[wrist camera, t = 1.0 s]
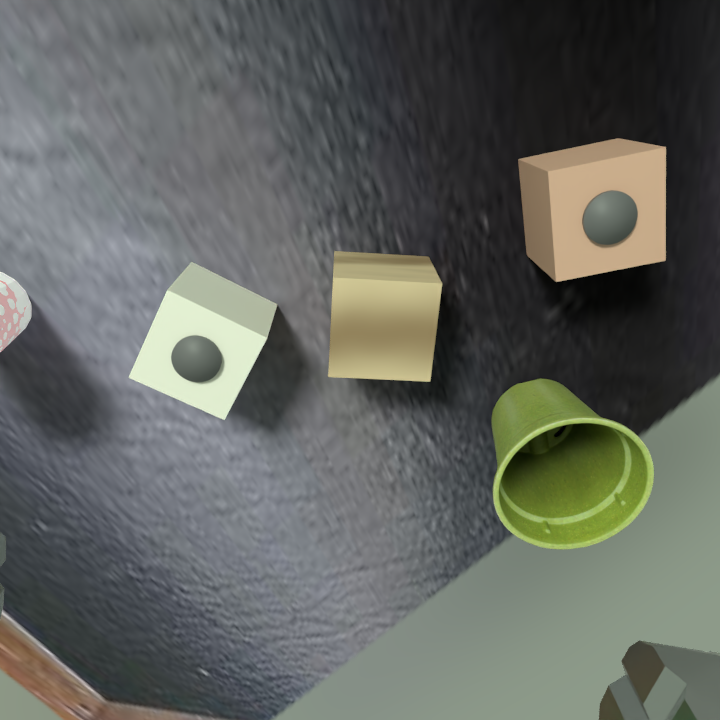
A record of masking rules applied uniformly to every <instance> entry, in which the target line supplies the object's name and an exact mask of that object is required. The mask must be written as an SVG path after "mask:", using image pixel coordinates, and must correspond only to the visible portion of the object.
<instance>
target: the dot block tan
mask: <svg viewBox="0 0 720 720" xmlns="http://www.w3.org/2000/svg"><path fill="white" fill-rule="evenodd" d="M518 162H519V174H520V185H521V196H522V207H523V218H524V229H525V240H526V251H527V256H528V257H529V258H530V259H531V260H533V261H534V262H535V263H536V264H537V265H538V266H539V267H540V268H541V269H542V270H543V271H545V272H546V273H547V274H548V275H549V276H550V277H551V278H552V279H553V280H554V281H555V282H559V281H564V280H569V279H574V278H579V277H584V276H589V275H595V274H600V273H605V272H610V271H615V270H620V269H625V268H630V267H635V266H640V265H645V264H651V263H656V262H661V261H666V147H662V146H657V145H651V144H646V143H641V142H635V141H630V140H625V139H619V138H618V139H613V140H608V141H603V142H599V143H594V144H589V145H584V146H579V147H575V148H570V149H565V150H560V151H555V152H551V153H546V154H541V155H536V156H531V157H527V158H522V159H518Z"/></svg>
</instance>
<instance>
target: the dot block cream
mask: <svg viewBox="0 0 720 720" xmlns="http://www.w3.org/2000/svg"><path fill="white" fill-rule="evenodd" d="M276 308H277V304H275V303H273V302H271V301H269V300H267V299H265V298H263V297H261V296H259V295H257V294H255V293H253V292H251V291H249V290H247V289H245V288H243V287H241V286H239V285H237V284H235V283H233V282H231V281H229V280H227V279H225V278H223V277H221V276H219V275H217V274H215V273H213V272H211V271H209V270H207V269H205V268H203V267H201V266H199V265H197V264H195V263H193V262H191V263H190V264H189V266H188V267H187V268H186V269H185V270H184V271H183V272H182V274H181V275H180V276H179V277H178V278H177V279H176V281H175V282H174V283H173V284H172V285H171V286H170V287H169V289H168V290H167V292H166V294H165V296H164V299H163V301H162V303H161V306H160V308H159V310H158V312H157V315H156V317H155V319H154V321H153V324H152V326H151V328H150V330H149V333H148V335H147V337H146V340H145V342H144V344H143V346H142V349H141V351H140V353H139V355H138V358H137V360H136V362H135V364H134V367H133V369H132V371H131V374H130V376H129V378H131V379H133V380H135V381H137V382H140V383H142V384H144V385H146V386H149V387H151V388H153V389H155V390H158V391H160V392H162V393H164V394H167V395H169V396H171V397H173V398H176V399H178V400H180V401H183V402H185V403H187V404H189V405H192V406H194V407H196V408H198V409H201V410H203V411H205V412H207V413H210V414H212V415H214V416H216V417H219V418H221V419H223V420H225V418H226V416H227V414H228V412H229V410H230V409H231V407H232V405H233V403H234V401H235V399H236V397H237V395H238V393H239V391H240V389H241V387H242V386H243V384H244V382H245V380H246V378H247V376H248V374H249V372H250V370H251V368H252V366H253V365H254V363H255V361H256V359H257V357H258V355H259V353H260V351H261V349H262V347H263V345H264V344H265V342H266V340H267V338H268V334H269V331H270V328H271V324H272V321H273V318H274V314H275V311H276Z"/></svg>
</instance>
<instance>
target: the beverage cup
mask: <svg viewBox="0 0 720 720" xmlns="http://www.w3.org/2000/svg"><path fill="white" fill-rule="evenodd" d="M30 319H31V302H30V300H29V298H28V295H27V293H26V291H25V290H24V289H23V288H22V287H21V286H20V284H19V283H18V282H17V281H16V280H14V279H13V278H11V277H9V276H7V275H6V274H4V273H2V272H0V352H1V351H2V350H3V349H4V348H5V347H6V346H8V345H9V344H10V343H11V342H12V341H13V340H14V339H15V338H16V337H17V336H18V335H19V334H20V333H21V332H22V331H23V330H24V329H25V328H26V327H27V325H28V323H29V321H30Z"/></svg>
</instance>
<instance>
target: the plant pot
mask: <svg viewBox="0 0 720 720" xmlns="http://www.w3.org/2000/svg"><path fill="white" fill-rule="evenodd" d="M564 425H567V426H566V428H565V429H564V431H563V432H562V433H561V434H560V435H559V436H557V437H554V435H555V433H557V432H558V431H559V430H560V429H561V427H562V426H564ZM492 430H493V437H494V443H495V449H496V456H497V464H498V467H497V472H496V475H495V478H494V484H493V500H494V505H495V509H496V512H497V514H498V516H499V518H500V520H501V522H502V523H503V524H504V525H505V527H506V528H507V529H508V530H509V531H510V532H511V533H513V534H514V535H515V536H517V537H518V538H520V539H522V540H524V541H526V542H528V543H531V544H533V545H536V546H539V547H543V548H549V549H575V548H582V547H587V546H590V545H593V544H597V543H599V542H602V541H604V540H606V539H608V538H610V537H612V536H613V535H615V534H617V533H618V532H620V531H621V530H623V529H624V528H625V527H627V526H628V525H629V524H630V523H631V522H632V521H633V520H634V519H635V518H636V517H637V516H638V515H639V513H640V512H641V511H642V509H643V508H644V506H645V504H646V502H647V500H648V498H649V496H650V493H651V490H652V486H653V480H654V469H653V462H652V458H651V456H650V452H649V450H648V449H647V447H646V446H645V444H644V443H643V441H642V440H641V439H640V438H639V437H638V436H637V435H636V434H635V433H634V432H632V431H631V430H630V429H628V428H627V427H625V426H623V425H621V424H620V423H617V422H615V421H612V420H609V419H605V418H601V417H600V416H598V415H597V414H596V413H595V412H594V411H592V410H591V409H590V408H589V407H588V406H587V405H585V404H584V403H583V402H582V401H581V400H580V399H578V398H577V397H576V396H575V395H574V394H573V393H572V392H570V391H569V390H568V389H567V388H566V387H565V386H563V385H562V384H560V383H558V382H555V381H552V380H549V379H536V380H533V381H529V382H524V383H519V384H516V385H514V386H513V387H511V388H510V389H508V390H507V391H506V392H505V393H504V394H503V395H502V396H501V397H500V398H499V400H498V401H497V403H496V405H495V407H494V410H493V413H492Z"/></svg>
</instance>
